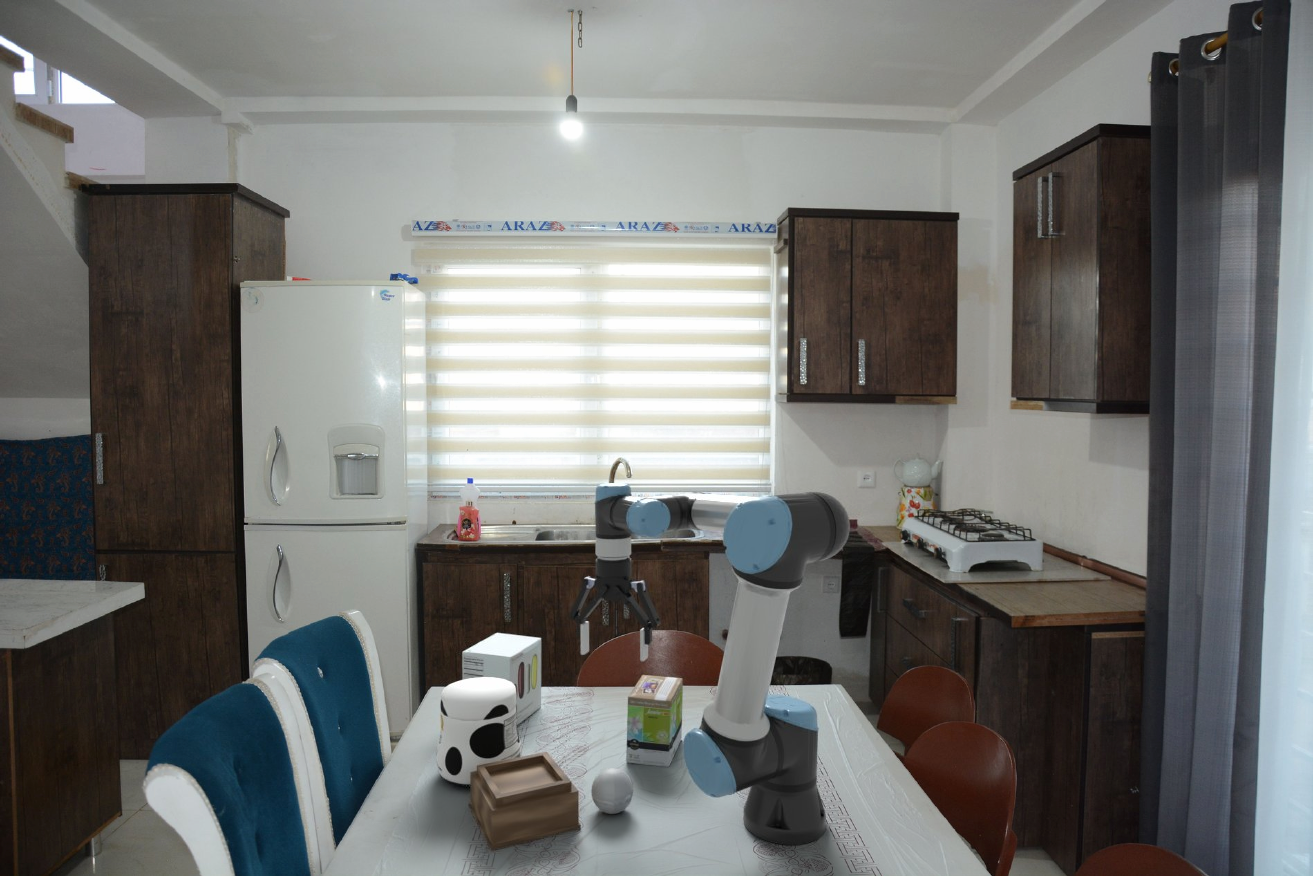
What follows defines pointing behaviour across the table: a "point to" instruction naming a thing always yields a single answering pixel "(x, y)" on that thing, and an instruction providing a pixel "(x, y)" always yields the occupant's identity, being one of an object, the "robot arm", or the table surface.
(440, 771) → the milk container
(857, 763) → the table surface
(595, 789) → the bath bomb
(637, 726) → the tea box
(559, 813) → the brown open square box
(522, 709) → the supplement box
